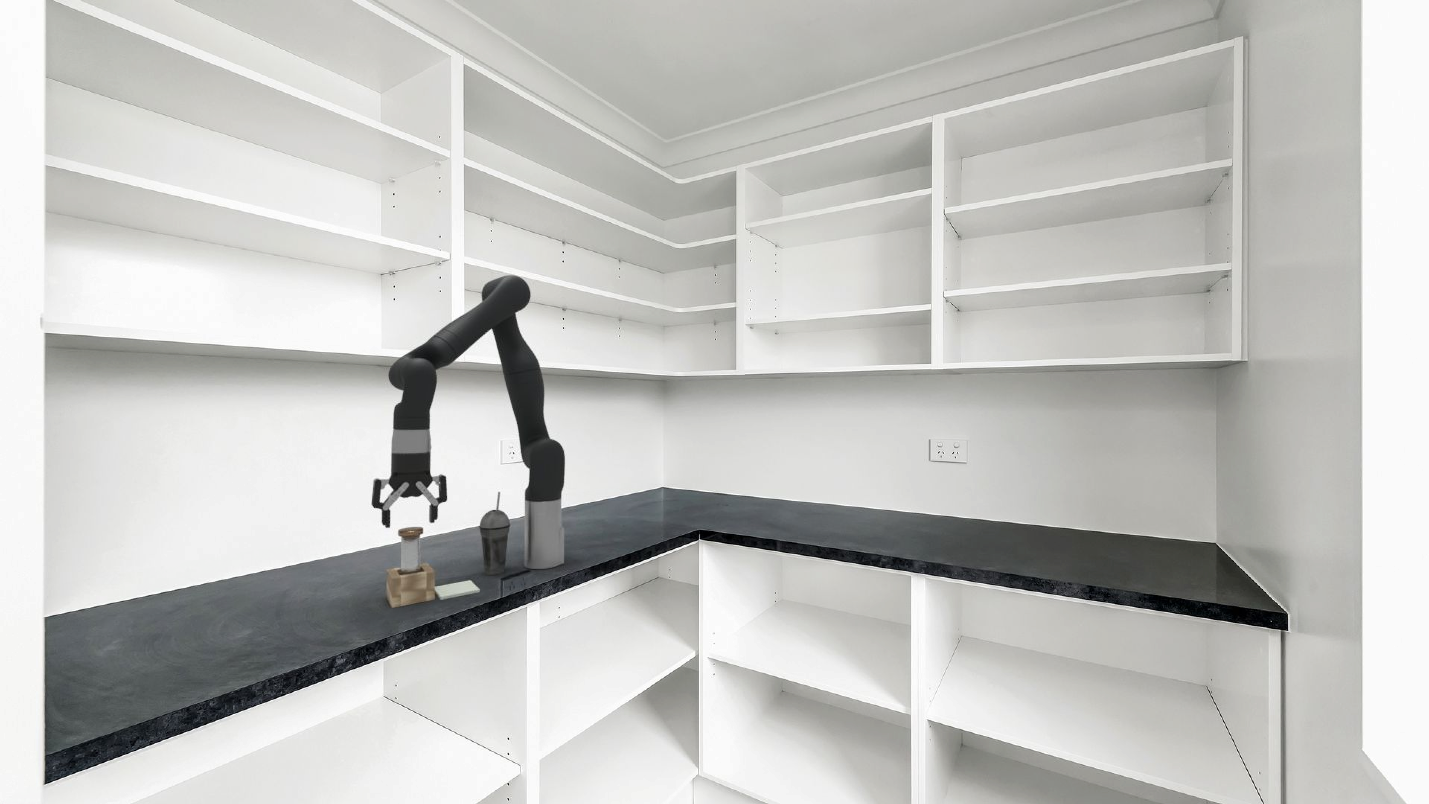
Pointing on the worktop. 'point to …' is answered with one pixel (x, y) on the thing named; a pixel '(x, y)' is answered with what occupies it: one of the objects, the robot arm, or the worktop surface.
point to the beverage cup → (494, 540)
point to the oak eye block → (410, 586)
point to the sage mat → (456, 589)
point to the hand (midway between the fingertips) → (410, 524)
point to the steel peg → (410, 549)
